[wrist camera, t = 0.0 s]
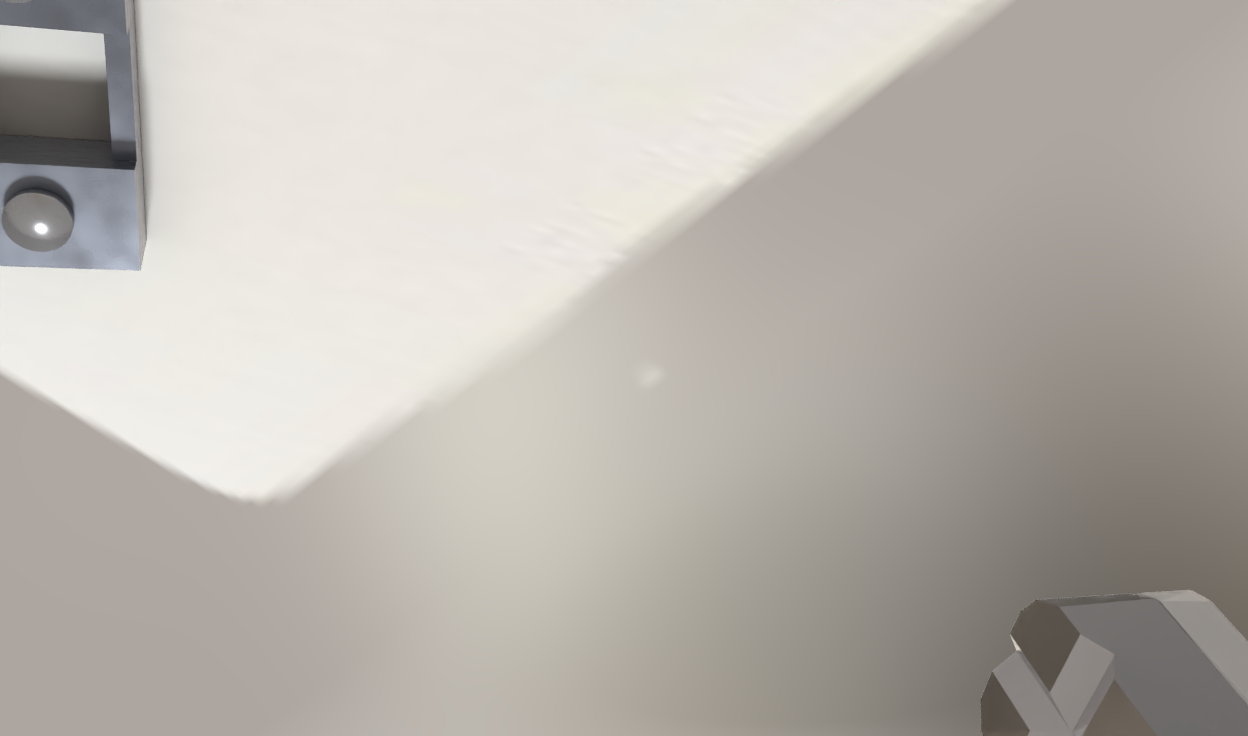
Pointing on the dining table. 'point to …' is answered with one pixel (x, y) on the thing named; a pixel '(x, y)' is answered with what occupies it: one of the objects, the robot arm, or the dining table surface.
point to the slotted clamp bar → (78, 159)
